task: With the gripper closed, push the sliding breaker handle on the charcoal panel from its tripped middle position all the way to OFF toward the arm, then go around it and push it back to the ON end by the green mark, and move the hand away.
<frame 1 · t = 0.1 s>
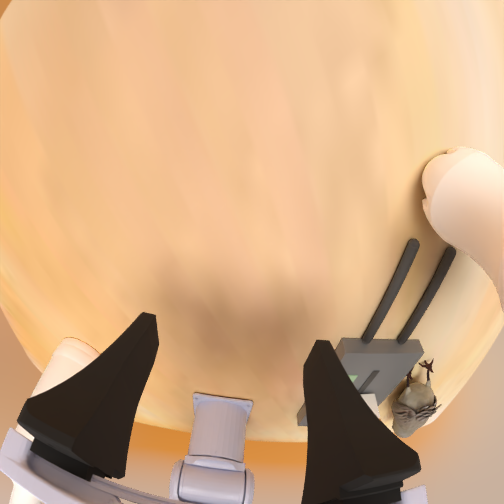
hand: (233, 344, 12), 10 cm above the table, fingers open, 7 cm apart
decorative bird: (405, 388, 32), on the table
water bottle: (445, 183, 17), on the table
bottle: (84, 354, 31), on the table
twin grey rods: (408, 296, 23), on the table
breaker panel: (352, 384, 31), on the table
breaker handle: (357, 413, 27), point 4 cm above the table, slide at 4.0 cm
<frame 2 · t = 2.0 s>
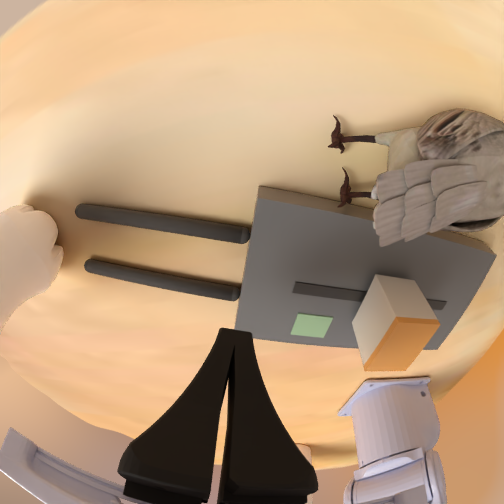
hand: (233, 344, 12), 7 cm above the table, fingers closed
decorative bird: (445, 147, 13), on the table
water bottle: (42, 234, 18), on the table
twin grey rods: (156, 245, 18), on the table
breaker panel: (372, 280, 18), on the table
breaker handle: (392, 324, 14), point 4 cm above the table, slide at 4.0 cm
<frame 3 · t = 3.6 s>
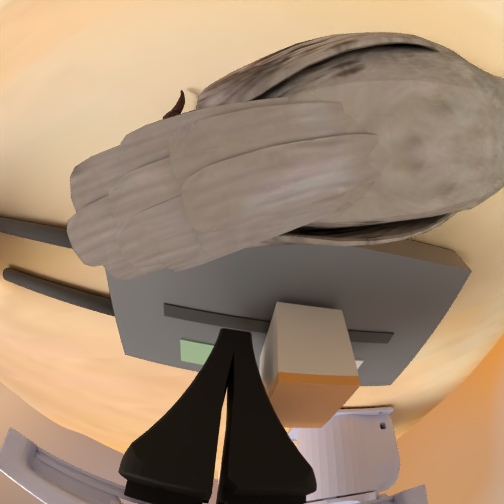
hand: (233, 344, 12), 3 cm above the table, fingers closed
decorative bird: (373, 113, 10), on the table
twin grey rods: (48, 255, 14), on the table
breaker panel: (284, 301, 15), on the table
breaker handle: (301, 369, 11), point 4 cm above the table, slide at 3.4 cm, touching gripper
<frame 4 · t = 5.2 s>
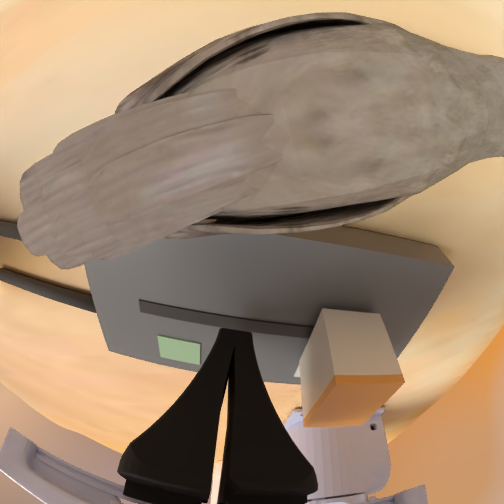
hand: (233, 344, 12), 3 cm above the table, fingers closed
decorative bird: (334, 104, 10), on the table
bottle: (240, 464, 34), on the table
twin grey rods: (37, 255, 14), on the table
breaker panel: (259, 299, 15), on the table
breaker handle: (344, 371, 11), point 4 cm above the table, slide at -0.1 cm
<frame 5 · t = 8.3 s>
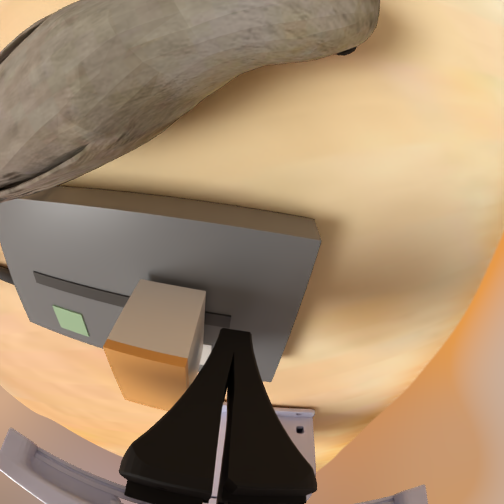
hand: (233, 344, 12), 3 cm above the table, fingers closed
decorative bird: (150, 77, 10), on the table
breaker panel: (129, 276, 15), on the table
breaker handle: (162, 349, 11), point 4 cm above the table, slide at 0.7 cm, touching gripper
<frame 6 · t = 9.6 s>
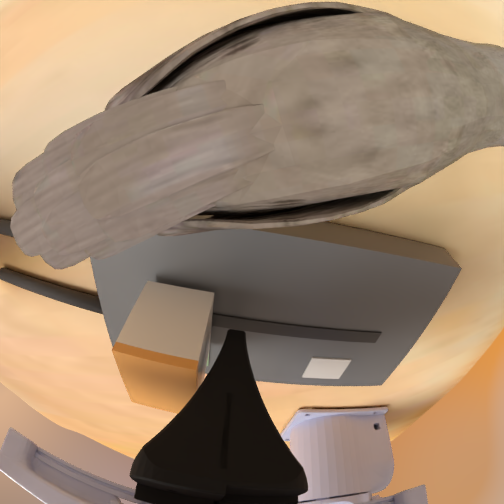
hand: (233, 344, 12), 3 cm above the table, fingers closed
decorative bird: (330, 97, 10), on the table
twin grey rods: (41, 255, 14), on the table
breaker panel: (269, 300, 15), on the table
breaker handle: (170, 351, 11), point 4 cm above the table, slide at 8.3 cm, touching gripper
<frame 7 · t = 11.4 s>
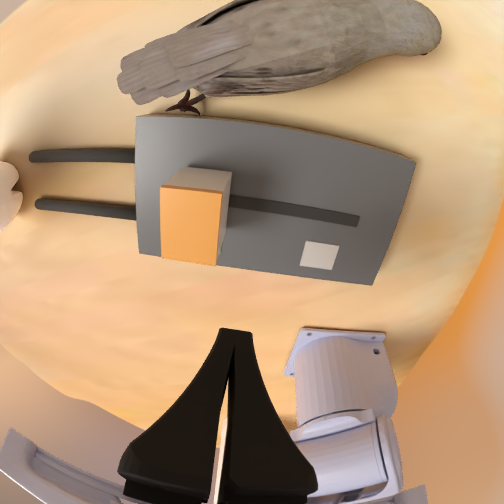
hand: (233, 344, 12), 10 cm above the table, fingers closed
decorative bird: (297, 48, 14), on the table
water bottle: (10, 185, 19), on the table
bottle: (248, 421, 38), on the table
twin grey rods: (82, 177, 19), on the table
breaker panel: (269, 195, 19), on the table
breaker handle: (197, 212, 15), point 4 cm above the table, slide at 8.1 cm
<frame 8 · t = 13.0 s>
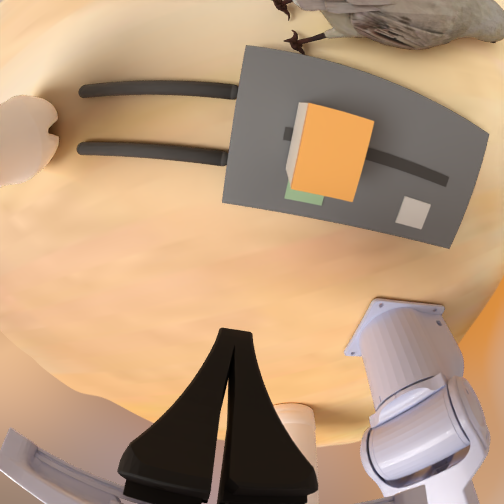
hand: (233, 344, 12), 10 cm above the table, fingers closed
decorative bird: (390, 19, 12), on the table
water bottle: (41, 131, 17), on the table
bottle: (287, 412, 36), on the table
twin grey rods: (150, 115, 16), on the table
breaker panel: (367, 150, 17), on the table
breaker handle: (324, 146, 13), point 4 cm above the table, slide at 8.1 cm
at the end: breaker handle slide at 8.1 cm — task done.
